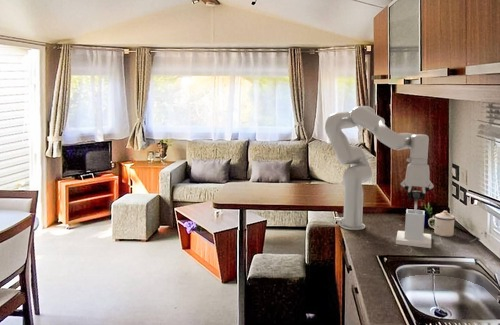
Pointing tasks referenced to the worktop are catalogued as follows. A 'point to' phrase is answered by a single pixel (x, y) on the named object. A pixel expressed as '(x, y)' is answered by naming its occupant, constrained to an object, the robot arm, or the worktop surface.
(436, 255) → the worktop surface
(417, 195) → the plunger
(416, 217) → the stand
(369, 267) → the worktop surface
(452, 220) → the teacup with lid
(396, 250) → the worktop surface
